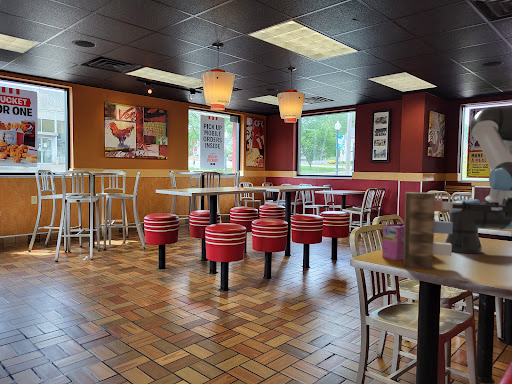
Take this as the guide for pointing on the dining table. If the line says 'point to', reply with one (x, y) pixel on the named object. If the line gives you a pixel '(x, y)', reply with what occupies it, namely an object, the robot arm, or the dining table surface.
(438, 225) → the blue-grey rectangular block
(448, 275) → the dining table surface
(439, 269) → the dining table surface
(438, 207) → the red key
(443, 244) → the white rectangular block
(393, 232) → the gum box
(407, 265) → the brown tall box
